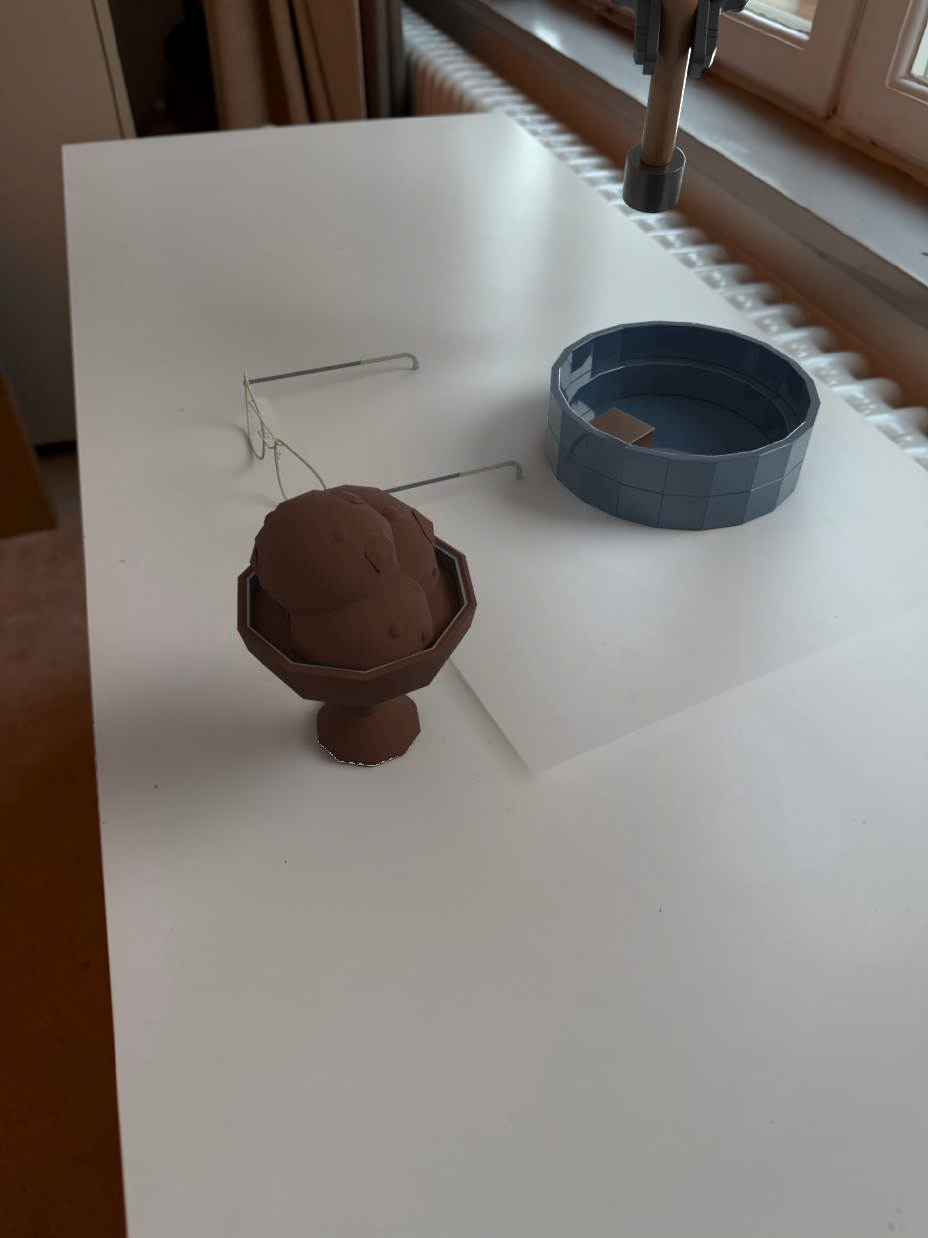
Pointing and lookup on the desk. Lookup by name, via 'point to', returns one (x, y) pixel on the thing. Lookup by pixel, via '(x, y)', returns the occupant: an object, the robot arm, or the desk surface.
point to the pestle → (662, 117)
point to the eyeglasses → (391, 490)
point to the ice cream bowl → (354, 612)
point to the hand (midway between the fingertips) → (673, 67)
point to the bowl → (681, 423)
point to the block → (624, 428)
